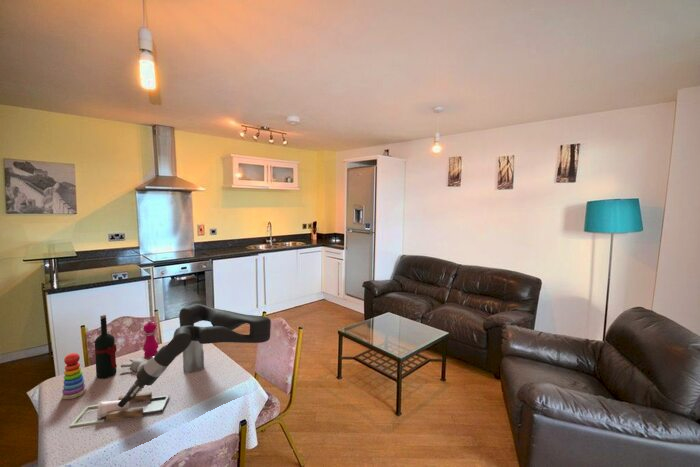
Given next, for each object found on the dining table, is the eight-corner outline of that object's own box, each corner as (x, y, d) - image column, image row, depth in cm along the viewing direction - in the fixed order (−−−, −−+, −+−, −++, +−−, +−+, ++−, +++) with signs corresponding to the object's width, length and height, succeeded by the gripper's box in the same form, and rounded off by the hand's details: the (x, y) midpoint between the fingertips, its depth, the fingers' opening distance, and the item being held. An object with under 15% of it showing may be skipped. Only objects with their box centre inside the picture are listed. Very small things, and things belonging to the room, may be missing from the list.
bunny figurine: (146, 367, 154) (118, 362, 155) (146, 377, 154) (118, 371, 156) (160, 358, 163) (133, 353, 165) (159, 367, 164) (133, 362, 165)
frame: (117, 403, 133) (117, 401, 133) (103, 422, 121) (103, 420, 121) (86, 407, 130) (86, 405, 130) (69, 427, 118) (69, 425, 118)
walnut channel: (152, 398, 136) (151, 392, 136) (141, 416, 125) (141, 409, 124) (120, 402, 133) (119, 396, 133) (106, 421, 121) (106, 414, 121)
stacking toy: (90, 391, 140) (88, 351, 139) (69, 402, 133) (66, 359, 131) (78, 387, 143) (76, 348, 141) (57, 398, 135) (54, 356, 134)
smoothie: (126, 410, 124) (81, 419, 117) (128, 415, 128) (84, 424, 121) (128, 393, 128) (85, 401, 121) (130, 398, 132) (88, 406, 125)
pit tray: (169, 397, 137) (169, 395, 137) (162, 412, 127) (162, 409, 127) (151, 400, 135) (151, 397, 135) (142, 415, 125) (142, 412, 125)
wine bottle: (107, 381, 149) (104, 320, 146) (92, 377, 152) (88, 317, 149) (123, 372, 156) (120, 314, 153) (108, 369, 159) (105, 312, 156)
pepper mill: (142, 359, 170) (140, 323, 168) (144, 353, 176) (142, 319, 174) (158, 356, 173) (156, 321, 171) (159, 350, 179) (157, 317, 178)
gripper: (156, 382, 122) (122, 420, 119) (164, 367, 134) (134, 401, 131) (139, 372, 120) (104, 410, 117) (149, 357, 132) (118, 391, 129)
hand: (120, 405), depth 124 cm, fingers closed
